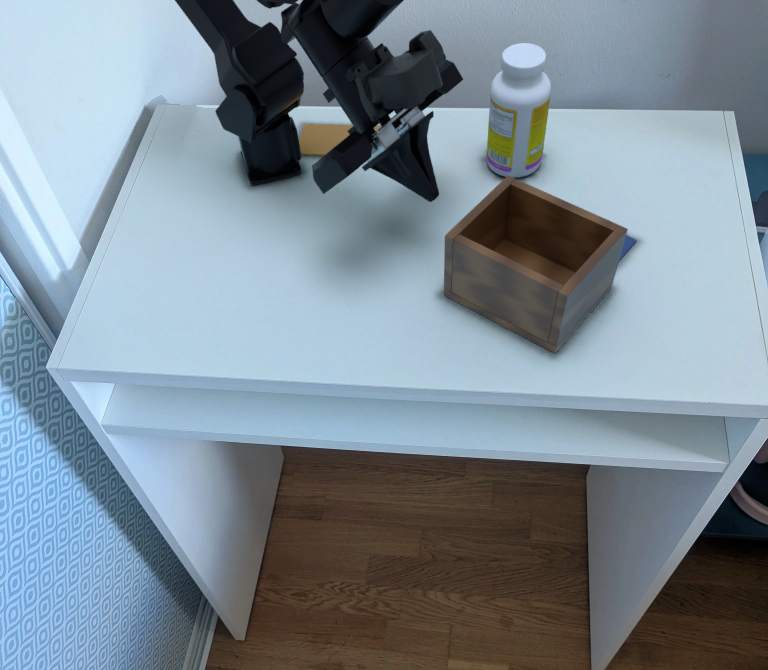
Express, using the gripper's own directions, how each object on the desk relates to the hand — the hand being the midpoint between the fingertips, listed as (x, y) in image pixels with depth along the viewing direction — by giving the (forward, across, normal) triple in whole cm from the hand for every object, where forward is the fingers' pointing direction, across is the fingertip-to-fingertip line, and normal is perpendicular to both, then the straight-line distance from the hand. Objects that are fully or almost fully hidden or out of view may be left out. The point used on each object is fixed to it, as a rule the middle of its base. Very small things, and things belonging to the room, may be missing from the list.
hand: (434, 198), depth 80 cm
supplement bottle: (+4, +17, +5) cm, 18 cm away
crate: (+13, 0, -4) cm, 14 cm away
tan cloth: (-10, +9, +19) cm, 23 cm away
